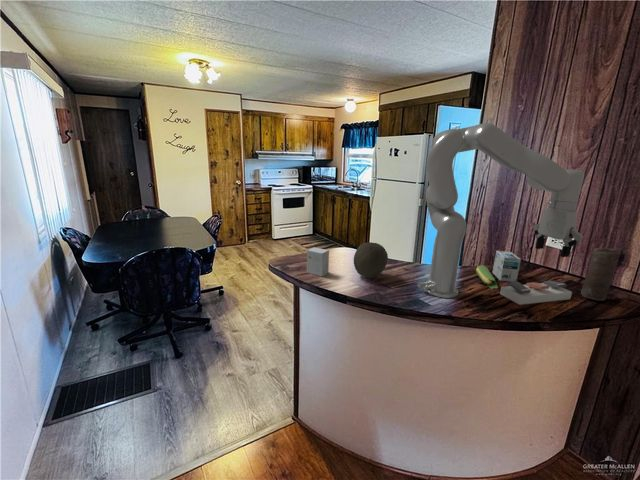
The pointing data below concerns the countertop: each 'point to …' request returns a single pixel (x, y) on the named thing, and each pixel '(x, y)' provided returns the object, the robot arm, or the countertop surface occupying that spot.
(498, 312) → the countertop surface
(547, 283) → the rocker right
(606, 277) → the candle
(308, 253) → the small box
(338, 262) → the countertop surface
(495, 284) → the edible corn
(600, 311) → the countertop surface
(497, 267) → the light bulb box
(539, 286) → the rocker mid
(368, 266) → the dark brown sphere
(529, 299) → the rocker switch panel
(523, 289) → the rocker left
